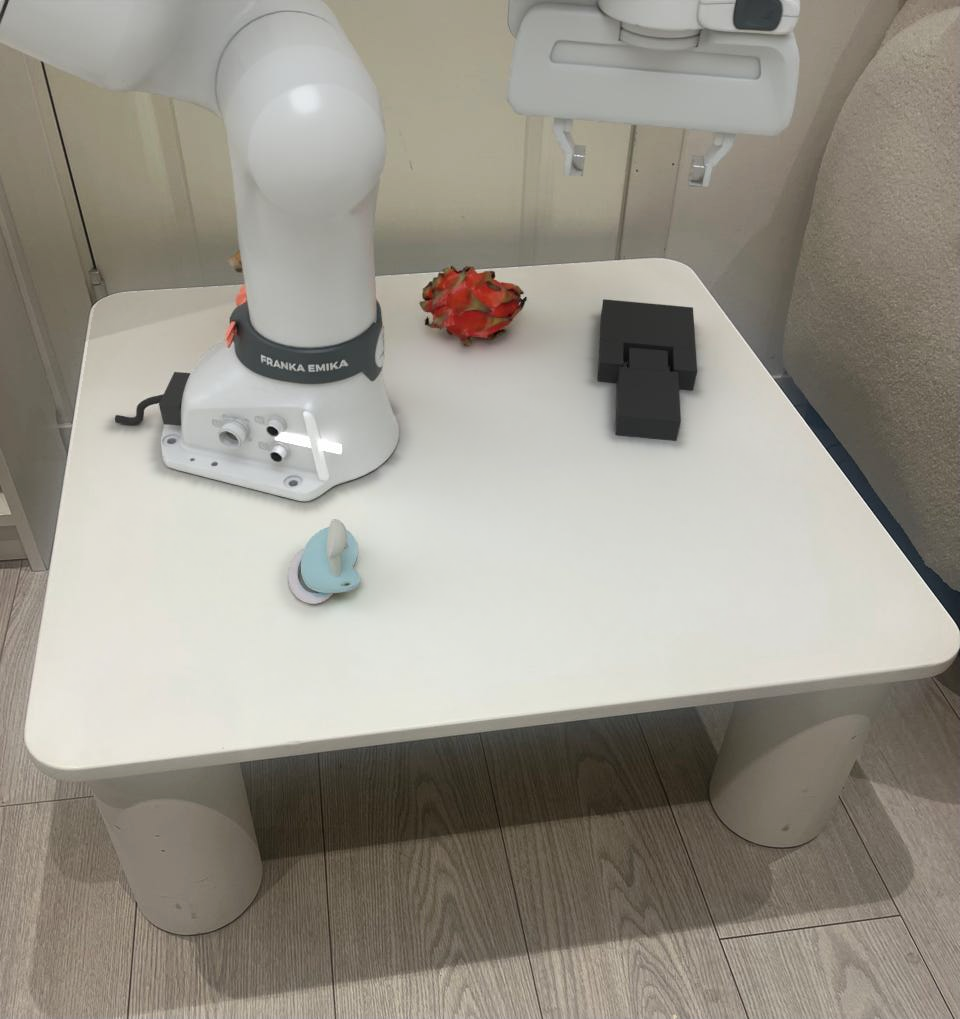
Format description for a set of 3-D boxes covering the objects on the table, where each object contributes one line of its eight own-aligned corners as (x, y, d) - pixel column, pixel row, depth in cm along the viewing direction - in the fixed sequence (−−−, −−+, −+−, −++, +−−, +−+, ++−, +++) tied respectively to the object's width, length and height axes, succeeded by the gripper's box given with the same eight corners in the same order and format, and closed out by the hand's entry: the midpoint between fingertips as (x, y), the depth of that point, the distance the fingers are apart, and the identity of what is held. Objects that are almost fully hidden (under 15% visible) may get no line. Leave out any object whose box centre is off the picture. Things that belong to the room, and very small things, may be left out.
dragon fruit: (410, 344, 112) (513, 348, 115) (425, 342, 104) (536, 346, 107) (412, 266, 111) (516, 272, 114) (428, 257, 103) (540, 264, 106)
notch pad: (693, 390, 106) (697, 371, 104) (597, 381, 106) (599, 362, 104) (689, 325, 114) (693, 307, 112) (600, 317, 115) (603, 298, 113)
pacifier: (289, 615, 82) (363, 606, 83) (279, 563, 78) (356, 555, 79) (288, 550, 88) (358, 542, 88) (278, 497, 83) (351, 490, 84)
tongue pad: (676, 440, 100) (680, 421, 98) (615, 435, 100) (618, 415, 98) (673, 370, 108) (677, 351, 106) (616, 365, 108) (619, 346, 106)
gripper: (505, -17, 65) (494, 184, 75) (825, 9, 64) (772, 210, 74) (514, -46, 70) (503, 147, 80) (813, -22, 69) (765, 171, 79)
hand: (635, 178), depth 77 cm, fingers open, 8 cm apart
